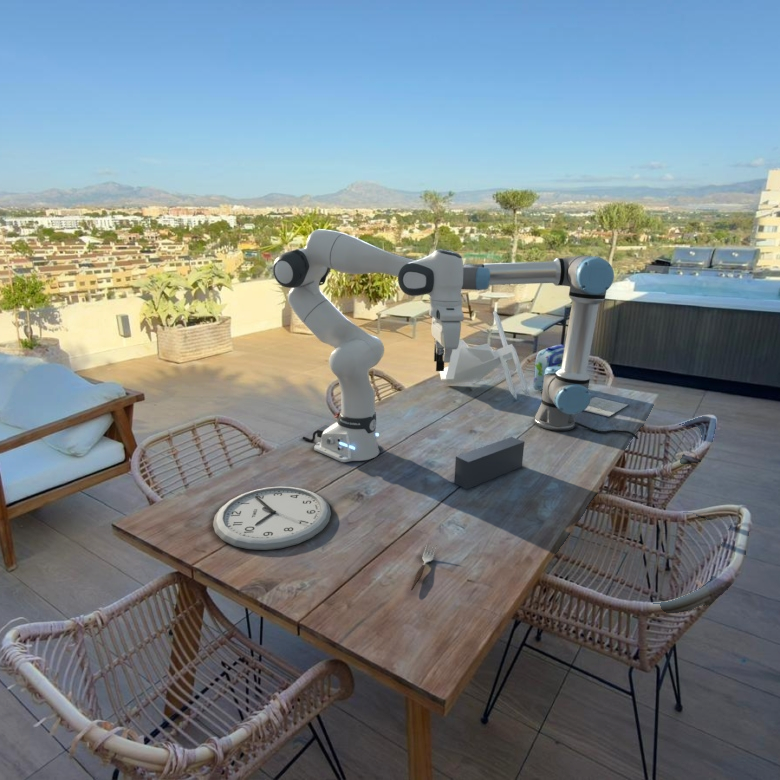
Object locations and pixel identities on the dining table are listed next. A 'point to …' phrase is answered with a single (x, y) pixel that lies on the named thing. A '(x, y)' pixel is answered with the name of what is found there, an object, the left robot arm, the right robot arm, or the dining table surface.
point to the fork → (426, 559)
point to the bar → (488, 462)
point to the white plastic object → (482, 362)
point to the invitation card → (604, 406)
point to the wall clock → (272, 518)
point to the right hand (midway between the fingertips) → (438, 366)
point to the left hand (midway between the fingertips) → (442, 358)
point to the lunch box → (547, 363)
